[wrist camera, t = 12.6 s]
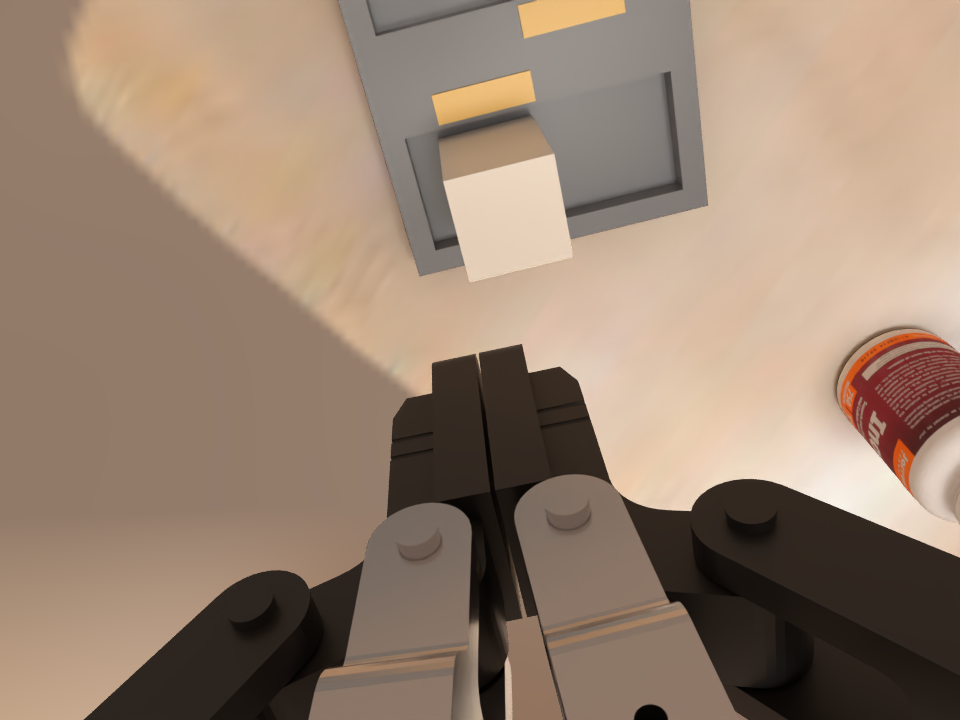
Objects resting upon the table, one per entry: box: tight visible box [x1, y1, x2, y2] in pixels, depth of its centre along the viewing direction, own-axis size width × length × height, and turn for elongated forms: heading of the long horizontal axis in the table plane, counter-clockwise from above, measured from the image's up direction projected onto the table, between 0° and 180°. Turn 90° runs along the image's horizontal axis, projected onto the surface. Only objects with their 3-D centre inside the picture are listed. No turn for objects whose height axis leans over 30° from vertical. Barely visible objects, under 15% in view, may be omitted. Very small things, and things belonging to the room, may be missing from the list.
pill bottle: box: [837, 329, 960, 524], centre depth 38 cm, size 6×6×11 cm
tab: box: [438, 115, 573, 283], centre depth 31 cm, size 4×4×6 cm
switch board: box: [338, 0, 708, 276], centre depth 32 cm, size 13×16×2 cm
